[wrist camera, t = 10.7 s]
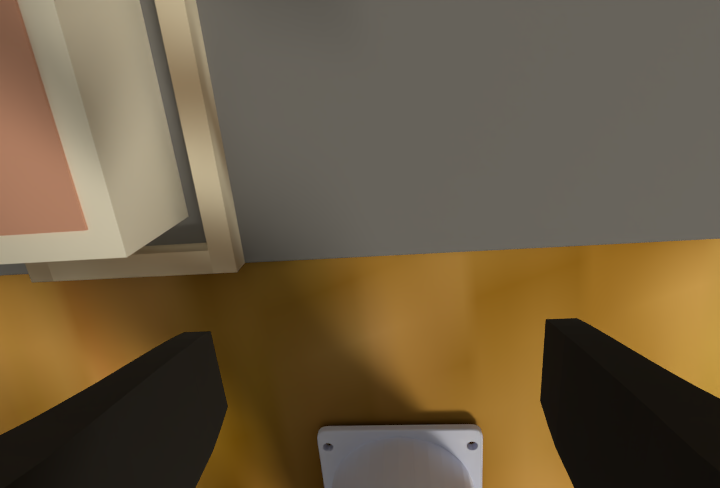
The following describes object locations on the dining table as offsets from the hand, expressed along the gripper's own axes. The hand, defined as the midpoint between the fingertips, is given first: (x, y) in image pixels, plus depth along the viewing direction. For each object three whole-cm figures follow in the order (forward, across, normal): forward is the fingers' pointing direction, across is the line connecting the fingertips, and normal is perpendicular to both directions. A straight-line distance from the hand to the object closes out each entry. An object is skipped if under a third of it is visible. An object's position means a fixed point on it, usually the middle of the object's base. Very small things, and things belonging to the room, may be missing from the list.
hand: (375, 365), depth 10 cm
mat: (+9, +2, -6) cm, 11 cm away
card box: (+9, +10, -6) cm, 15 cm away
